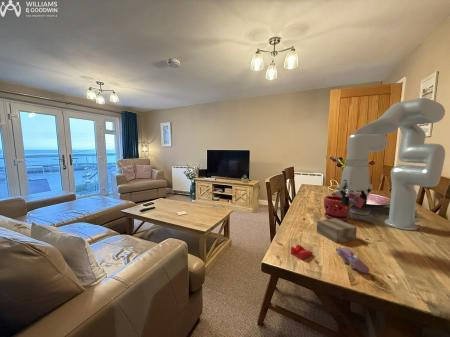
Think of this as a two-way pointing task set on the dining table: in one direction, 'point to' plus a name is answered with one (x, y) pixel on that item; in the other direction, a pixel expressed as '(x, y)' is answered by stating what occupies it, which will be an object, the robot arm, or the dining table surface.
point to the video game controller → (352, 259)
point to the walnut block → (336, 230)
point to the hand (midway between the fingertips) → (353, 204)
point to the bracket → (300, 252)
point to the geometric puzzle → (356, 200)
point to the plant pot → (335, 208)
